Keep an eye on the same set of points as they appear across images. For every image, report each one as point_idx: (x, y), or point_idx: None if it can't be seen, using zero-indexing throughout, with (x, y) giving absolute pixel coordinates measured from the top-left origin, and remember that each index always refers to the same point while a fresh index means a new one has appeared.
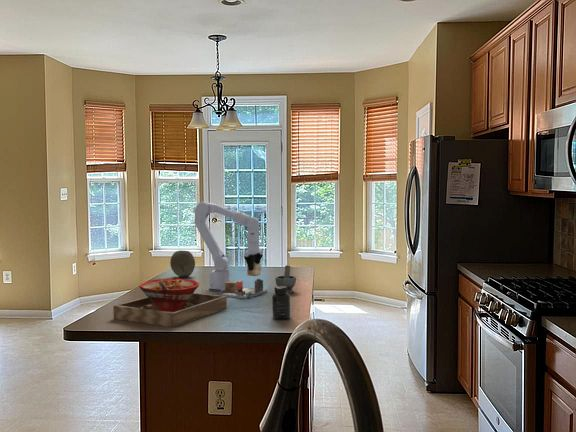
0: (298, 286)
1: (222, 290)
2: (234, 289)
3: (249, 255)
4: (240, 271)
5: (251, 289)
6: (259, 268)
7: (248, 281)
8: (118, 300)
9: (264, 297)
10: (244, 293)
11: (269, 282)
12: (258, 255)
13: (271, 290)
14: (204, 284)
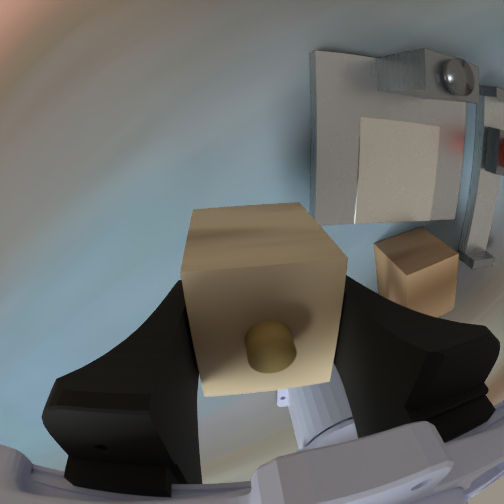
0: (28, 4)
1: (488, 259)
2: (435, 239)
3: (491, 410)
4: (4, 444)
5: (374, 156)
6: (224, 237)
7: (78, 366)
8: (499, 402)
9: (448, 19)
10: (494, 128)
11: (15, 255)
12: (169, 437)
13: (243, 53)
14: (262, 447)
